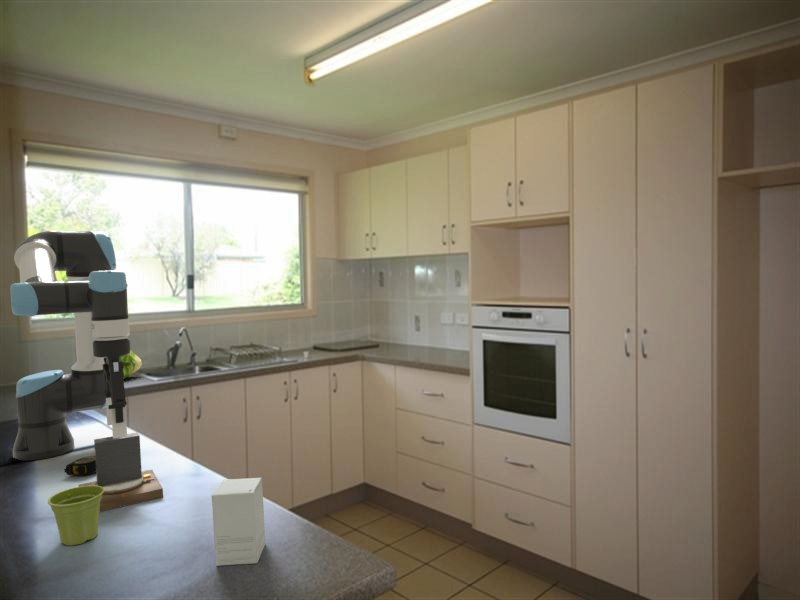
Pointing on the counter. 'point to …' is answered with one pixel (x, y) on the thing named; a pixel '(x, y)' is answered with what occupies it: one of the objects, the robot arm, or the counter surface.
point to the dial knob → (119, 463)
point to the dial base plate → (132, 493)
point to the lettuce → (130, 363)
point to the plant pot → (77, 513)
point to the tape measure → (81, 466)
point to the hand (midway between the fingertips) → (116, 430)
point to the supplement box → (238, 521)
